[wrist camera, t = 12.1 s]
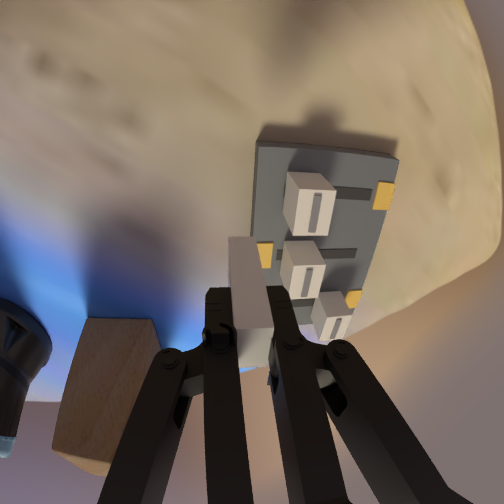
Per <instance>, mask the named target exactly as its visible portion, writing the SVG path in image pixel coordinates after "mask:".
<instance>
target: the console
mask: <svg viewBox="0 0 504 504" xmlns="http://www.w3.org/2000/svg"><path fill="white" fill-rule="evenodd" d="M398 164H399V160H398V159H396V158H395V157H393V156H391V155H390V154H385V153H378V152H371V151H364V150H357V149H349V148H340V147H331V146H321V145H310V144H296V143H280V142H257V141H256V149H255V166H254V182H253V198H252V215H251V232H250V237H256V241H257V246H258V251H259V256H260V261H261V265H262V270H263V275H264V280H265V285H266V286H278V285H283V282H282V279H281V276H280V268H281V261H282V254H283V247H284V241H314V242H315V244H316V246H317V248H318V250H319V252H320V254H321V256H322V258H323V260H324V261H325V263H326V267H325V271H324V275H323V279H322V283H321V287H320V291H319V292H331V291H341V293H342V295H343V297H344V299H345V301H346V303H347V305H348V307H349V309H350V311H351V313H352V314H353V311H354V309H355V308H356V306H357V303H358V302H359V300H360V297H361V295H362V288H363V286H364V283H365V280H366V277H367V274H368V272H369V269H370V266H371V263H372V260H373V257H374V254H375V251H376V247H377V244H378V241H379V238H380V235H381V231H382V228H383V224H384V221H385V218H386V214H387V210H388V209H389V206H390V203H391V201H392V197H393V194H394V190H395V189H394V187H395V179H396V173H397V169H398ZM287 172H307V173H320V174H321V175H322V176H323V177H324V178H325V179H326V180H327V181H328V182H329V183H330V184H331V185H332V186H333V187H334V188H335V190H336V197H335V202H334V207H333V212H332V217H331V222H330V227H329V232H328V236H293V235H292V233H291V230H290V228H289V226H288V224H287V221H286V219H285V217H284V215H283V206H284V197H285V188H286V179H287ZM291 302H292V306H293V309H294V313H295V316H296V320H297V323H298V325H302V324H313V322H312V319H311V313H312V309H313V305H314V302H315V298H308V299H291Z"/></svg>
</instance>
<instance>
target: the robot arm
mask: <svg viewBox="0 0 504 504" xmlns="http://www.w3.org/2000/svg"><path fill="white" fill-rule="evenodd" d="M228 284H229V287H219V288H210V289H209V290H208V292H207V293H206V296H205V327H204V328H203V332H202V338H203V342H202V343H201V344H200V345H199V346H198V347H196V348H194V349H192V350H189V351H185V352H181V351H180V350H178V349H175V348H166V349H162V350H161V351H159V352H158V353H157V354H156V355H155V356H154V358H153V360H152V363H151V365H150V367H149V370H148V372H147V374H146V377H145V379H144V382H143V384H142V386H141V389H140V391H139V394H138V396H137V398H136V401H135V403H134V406H133V408H132V411H131V413H130V416H129V418H128V421H127V423H126V426H125V429H124V431H123V434H122V436H121V439H120V441H119V444H118V447H117V449H116V452H115V455H114V457H113V460H112V463H111V466H110V468H109V471H108V474H107V477H106V480H105V483H104V485H103V488H102V491H101V494H100V497H99V500H98V503H97V504H162V501H163V497H164V494H165V491H166V487H167V483H168V480H169V476H170V473H171V469H172V465H173V462H174V459H175V455H176V452H177V449H178V445H179V441H180V438H181V434H182V431H183V428H184V424H185V421H186V418H187V414H188V411H189V407H190V404H191V401H192V397H193V396H195V395H198V394H201V393H204V434H205V460H206V480H207V496H208V504H254V501H253V493H252V485H251V478H250V469H249V460H248V451H247V442H246V433H245V424H244V414H243V405H242V394H241V384H240V374H239V368H247V367H264V366H268V361H269V366H270V372H269V377H268V384H267V385H270V386H271V392H272V399H273V405H274V412H275V418H276V424H277V430H278V436H279V442H280V449H281V455H282V461H283V467H284V474H285V480H286V486H287V492H288V498H289V504H352V503H351V502H350V501H349V499H348V497H347V493H346V489H345V485H344V481H343V476H342V472H341V468H340V464H339V460H338V456H337V452H336V448H335V444H334V440H333V436H332V432H331V428H330V424H329V421H328V417H327V413H328V414H329V416H330V418H331V420H332V422H333V423H334V425H335V426H336V429H337V430H338V432H339V434H340V436H341V437H342V439H343V441H344V443H345V444H346V446H347V448H348V450H349V451H350V453H351V455H352V457H353V458H354V460H355V462H356V464H357V465H358V467H359V469H360V471H361V472H362V474H363V475H364V477H365V479H366V481H367V483H368V484H369V486H370V488H371V490H372V491H373V493H374V495H375V496H376V498H377V500H378V502H379V503H380V504H473V503H471V502H470V501H468V500H467V499H465V498H464V497H462V496H460V495H459V494H457V493H456V492H454V491H453V490H451V489H450V488H449V487H448V486H447V484H446V483H445V481H444V480H443V478H442V476H441V475H440V474H439V472H438V470H437V469H436V467H435V465H434V464H433V463H432V461H431V459H430V458H429V456H428V455H427V453H426V452H425V450H424V448H423V447H422V445H421V444H420V442H419V441H418V439H417V438H416V436H415V435H414V433H413V432H412V430H411V429H410V427H409V426H408V424H407V423H406V421H405V420H404V418H403V417H402V416H401V414H400V412H399V411H398V409H397V408H396V406H395V405H394V403H393V402H392V401H391V399H390V398H389V396H388V395H387V393H386V392H385V390H384V389H383V387H382V386H381V384H380V383H379V382H378V380H377V379H376V377H375V376H374V374H373V373H372V372H371V370H370V369H369V367H368V366H367V364H366V363H365V361H364V360H363V359H362V357H361V356H360V354H359V353H358V352H357V350H356V349H355V347H354V346H353V345H352V344H351V343H349V342H348V341H345V340H341V339H337V340H333V341H331V342H329V344H328V345H322V344H317V343H313V342H310V341H308V340H307V339H305V337H304V336H303V335H302V334H301V333H300V330H299V327H298V323H297V320H296V316H295V313H294V309H293V306H292V302H291V299H290V295H289V292H288V291H287V290H286V289H285V288H284V286H283V285H278V286H266V285H265V280H264V275H263V270H262V265H261V261H260V256H259V251H258V246H257V241H256V237H228ZM51 352H52V344H51V341H50V338H49V337H48V335H47V333H46V332H45V330H44V329H43V328H42V327H41V325H40V324H39V323H38V322H37V321H36V320H35V319H34V318H33V317H32V316H31V315H29V314H28V313H27V312H26V311H24V310H23V309H21V308H20V307H18V306H17V305H15V304H13V303H11V302H9V301H7V300H4V299H1V298H0V457H2V458H7V457H9V456H10V455H11V453H12V449H13V446H14V442H15V440H16V437H17V436H16V434H17V429H18V425H19V421H20V417H21V413H22V409H23V405H24V402H25V399H26V395H27V392H28V388H29V386H30V383H31V382H32V381H33V379H34V378H35V377H36V375H37V374H38V372H39V371H40V369H41V368H42V367H44V366H45V365H46V364H47V362H48V360H49V358H50V355H51ZM326 411H327V413H326Z"/></svg>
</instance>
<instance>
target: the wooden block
mask: <svg viewBox="0 0 504 504" xmlns="http://www.w3.org/2000/svg"><path fill="white" fill-rule="evenodd" d="M159 351H161V347H160V343H159V340H158V337H157V334H156V330H155V327H154V324H153V321H152V320H151V319H121V318H87V319H86V322H85V325H84V327H83V330H82V333H81V336H80V339H79V342H78V345H77V348H76V351H75V354H74V358H73V361H72V364H71V367H70V371H69V374H68V378H67V381H66V385H65V389H64V393H63V397H62V401H61V405H60V409H59V413H58V418H57V422H56V427H55V432H54V437H53V443H52V450H53V451H54V452H55V453H57V454H58V455H60V456H62V457H63V458H65V459H66V460H68V461H70V462H71V463H73V464H75V465H76V466H78V467H80V468H81V469H83V470H85V471H87V472H88V473H91V474H95V475H100V476H106V477H107V474H108V471H109V468H110V466H111V463H112V460H113V457H114V455H115V452H116V449H117V447H118V444H119V441H120V439H121V436H122V434H123V431H124V429H125V426H126V423H127V421H128V418H129V416H130V413H131V411H132V408H133V406H134V403H135V401H136V398H137V396H138V394H139V391H140V389H141V386H142V384H143V382H144V379H145V377H146V374H147V372H148V370H149V367H150V365H151V363H152V360H153V358H154V356H155V355H156V354H157V353H158V352H159Z"/></svg>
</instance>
